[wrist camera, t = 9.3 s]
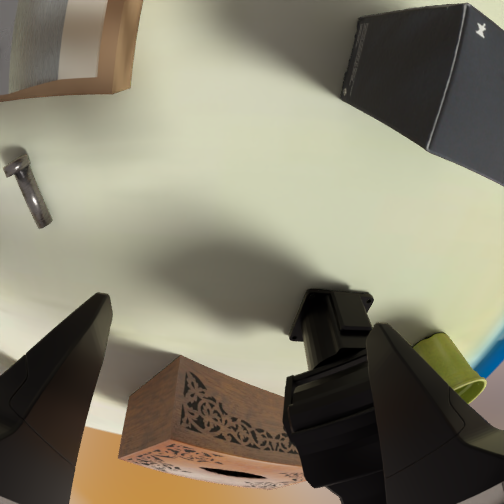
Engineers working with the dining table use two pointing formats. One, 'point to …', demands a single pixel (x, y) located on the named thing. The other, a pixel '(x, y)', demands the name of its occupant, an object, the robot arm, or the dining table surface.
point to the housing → (30, 42)
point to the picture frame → (92, 50)
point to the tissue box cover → (209, 429)
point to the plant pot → (451, 366)
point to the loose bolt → (29, 189)
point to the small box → (434, 81)
